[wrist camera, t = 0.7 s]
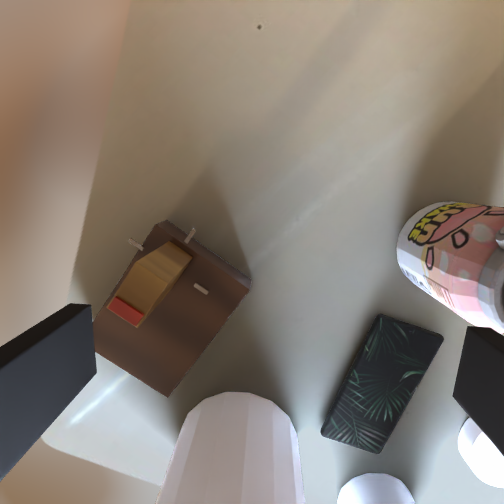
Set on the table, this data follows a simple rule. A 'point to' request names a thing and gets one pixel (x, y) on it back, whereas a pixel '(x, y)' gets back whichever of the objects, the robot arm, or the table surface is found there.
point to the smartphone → (380, 383)
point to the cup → (375, 490)
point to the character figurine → (481, 454)
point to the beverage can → (458, 258)
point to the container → (235, 455)
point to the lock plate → (172, 314)
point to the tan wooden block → (149, 283)
